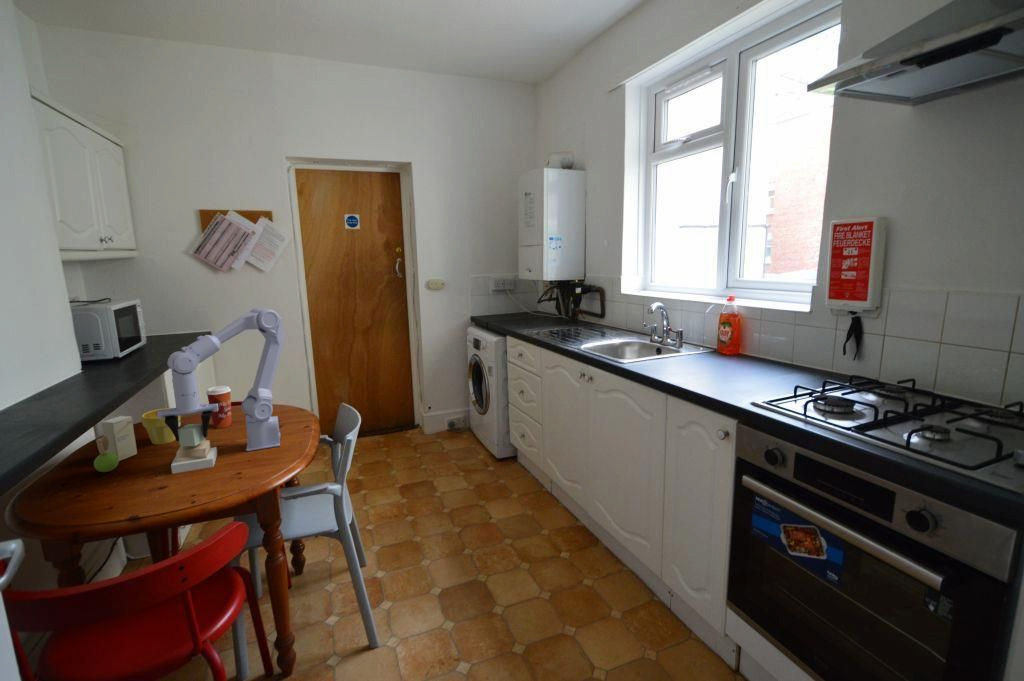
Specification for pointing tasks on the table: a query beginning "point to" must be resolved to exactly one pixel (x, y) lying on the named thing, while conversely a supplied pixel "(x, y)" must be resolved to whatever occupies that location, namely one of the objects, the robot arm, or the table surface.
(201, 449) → the beech top block
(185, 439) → the sage block
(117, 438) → the skincare box
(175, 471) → the grey base block
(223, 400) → the paper cup
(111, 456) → the snail figurine
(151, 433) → the plant pot
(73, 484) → the table surface
